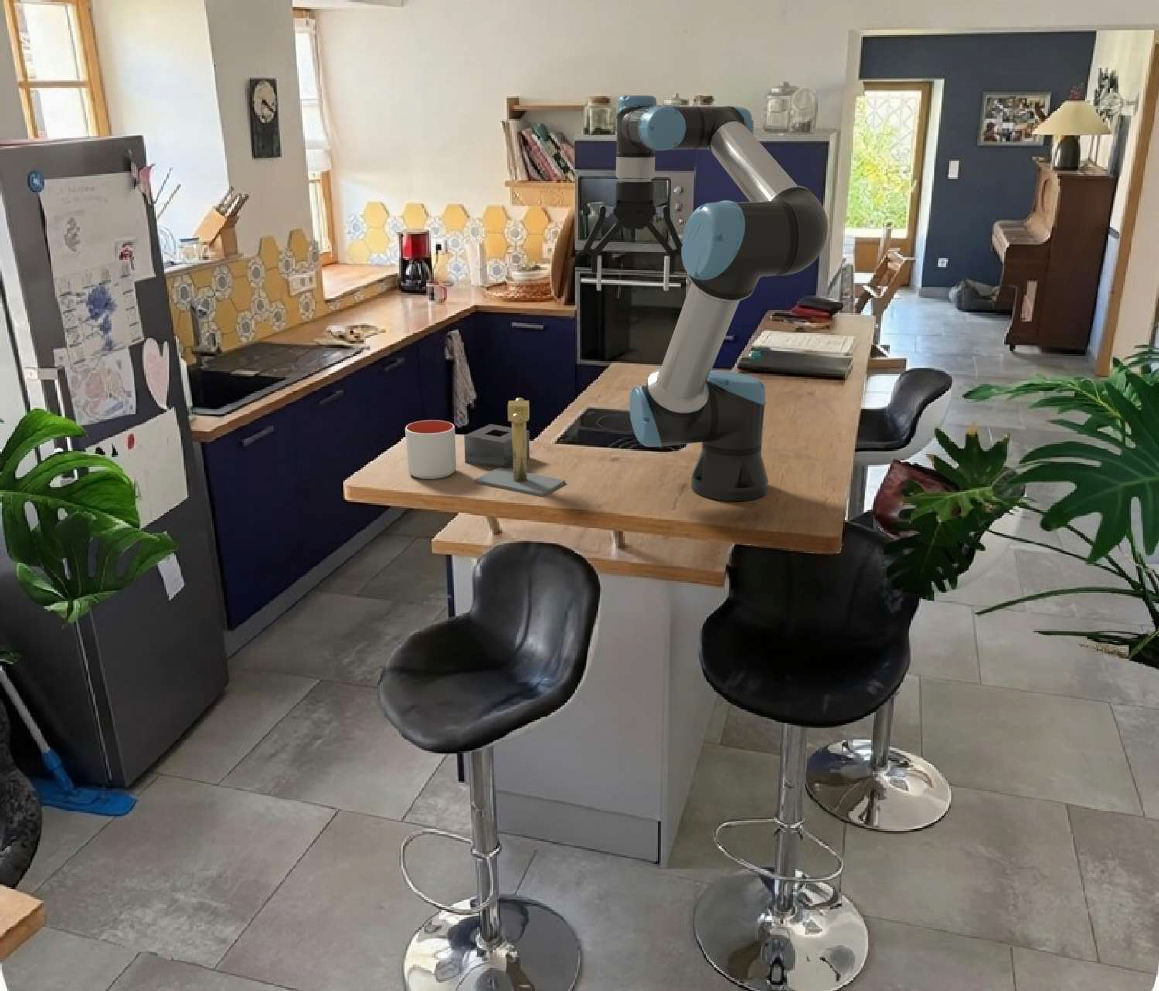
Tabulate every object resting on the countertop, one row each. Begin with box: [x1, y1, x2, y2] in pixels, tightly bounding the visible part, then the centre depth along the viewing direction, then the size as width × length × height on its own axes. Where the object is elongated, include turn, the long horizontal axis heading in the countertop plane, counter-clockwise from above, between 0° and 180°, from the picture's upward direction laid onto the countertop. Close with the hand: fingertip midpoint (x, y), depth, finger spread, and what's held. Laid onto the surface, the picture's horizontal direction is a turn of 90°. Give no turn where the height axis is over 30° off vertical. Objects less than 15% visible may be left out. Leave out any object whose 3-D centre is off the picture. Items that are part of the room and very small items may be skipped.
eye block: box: [463, 423, 530, 469], centre depth 219 cm, size 10×10×6 cm
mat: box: [474, 467, 566, 497], centre depth 206 cm, size 16×9×1 cm, turn 61°
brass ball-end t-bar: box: [507, 397, 530, 482], centre depth 203 cm, size 13×4×16 cm, turn 1°
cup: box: [404, 419, 457, 480], centre depth 210 cm, size 10×10×10 cm
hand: (632, 289), depth 206 cm, fingers open, 13 cm apart
